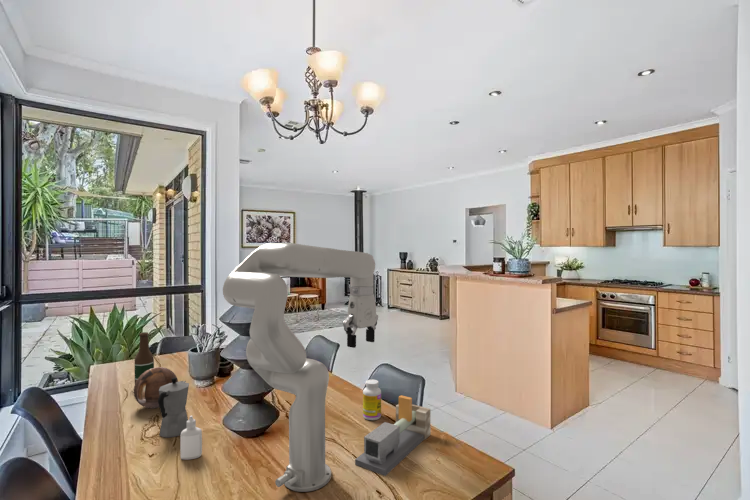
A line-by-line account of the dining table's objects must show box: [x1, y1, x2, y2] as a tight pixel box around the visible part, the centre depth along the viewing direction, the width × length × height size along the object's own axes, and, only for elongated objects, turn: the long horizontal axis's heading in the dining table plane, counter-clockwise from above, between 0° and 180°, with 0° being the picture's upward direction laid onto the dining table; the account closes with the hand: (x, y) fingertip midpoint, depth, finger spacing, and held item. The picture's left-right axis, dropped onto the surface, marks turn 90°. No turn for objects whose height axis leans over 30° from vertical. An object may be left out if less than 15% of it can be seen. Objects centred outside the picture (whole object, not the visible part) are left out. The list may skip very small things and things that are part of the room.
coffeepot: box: [158, 377, 190, 439], centre depth 128 cm, size 15×9×18 cm, turn 0°
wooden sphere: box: [133, 366, 179, 409], centre depth 149 cm, size 15×15×15 cm
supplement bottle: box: [362, 379, 382, 421], centre depth 139 cm, size 7×7×13 cm
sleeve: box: [363, 421, 400, 464], centre depth 112 cm, size 11×5×7 cm, turn 147°
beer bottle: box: [134, 331, 155, 384], centre depth 170 cm, size 8×8×24 cm
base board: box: [354, 429, 424, 477], centre depth 117 cm, size 25×10×2 cm, turn 147°
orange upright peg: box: [393, 395, 416, 433], centre depth 121 cm, size 16×4×10 cm, turn 147°
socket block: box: [395, 403, 432, 441], centre depth 127 cm, size 4×11×8 cm, turn 57°
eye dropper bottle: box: [179, 415, 203, 461], centre depth 113 cm, size 4×6×12 cm
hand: (361, 344), depth 125 cm, fingers open, 9 cm apart
